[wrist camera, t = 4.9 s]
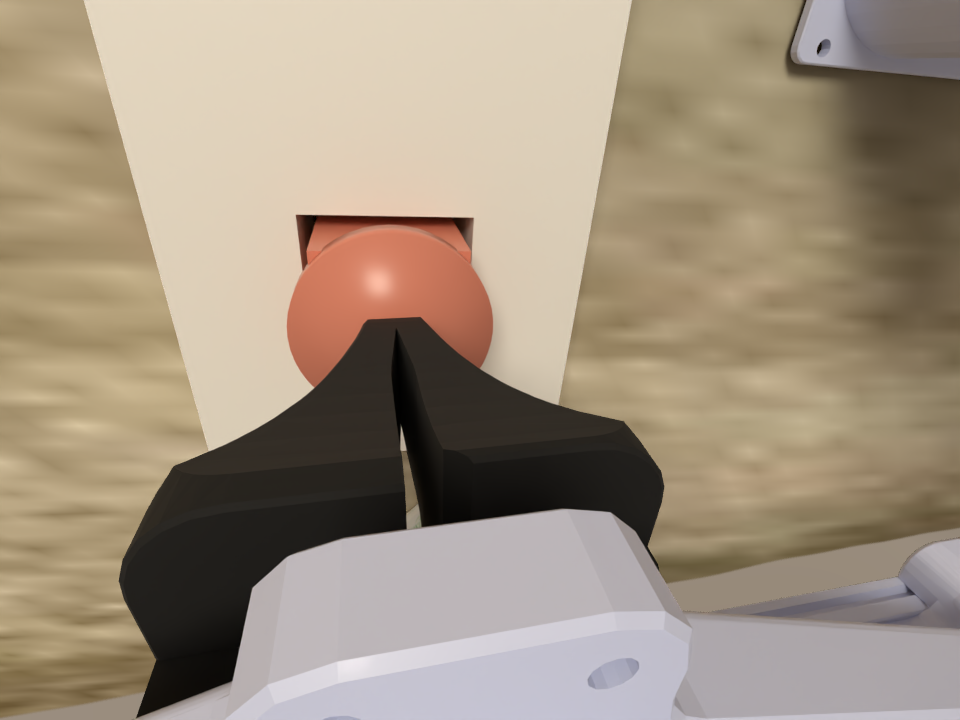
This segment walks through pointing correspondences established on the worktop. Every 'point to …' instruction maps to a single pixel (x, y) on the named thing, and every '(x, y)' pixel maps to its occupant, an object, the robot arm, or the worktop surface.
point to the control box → (358, 162)
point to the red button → (385, 287)
